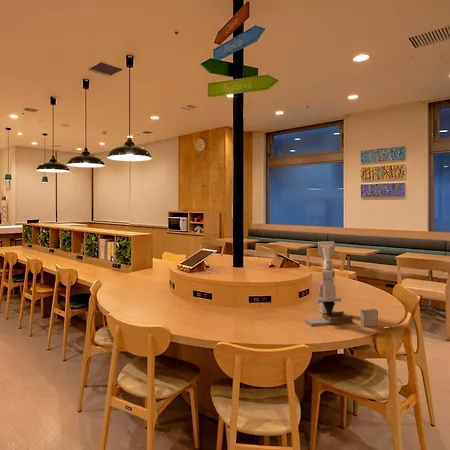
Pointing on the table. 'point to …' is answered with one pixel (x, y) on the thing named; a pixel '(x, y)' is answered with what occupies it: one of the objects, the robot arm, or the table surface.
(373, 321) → the medicine box
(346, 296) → the table surface
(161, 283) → the table surface
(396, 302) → the table surface
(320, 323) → the cover plate
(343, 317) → the walnut box
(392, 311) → the table surface
